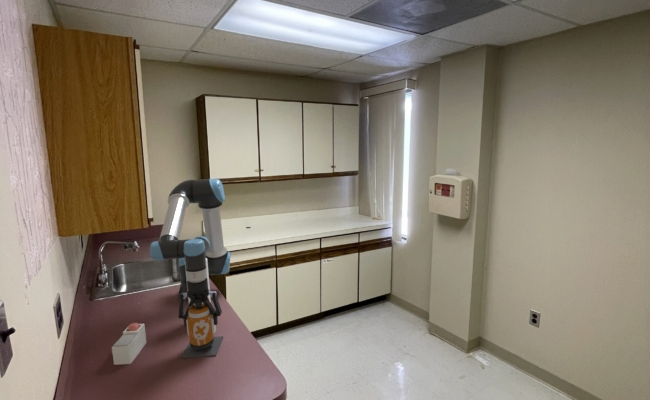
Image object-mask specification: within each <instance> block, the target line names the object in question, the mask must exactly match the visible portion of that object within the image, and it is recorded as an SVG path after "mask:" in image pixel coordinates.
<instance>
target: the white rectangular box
mask: <svg viewBox="0 0 650 400" xmlns="http://www.w3.org/2000/svg"><path fill="white" fill-rule="evenodd" d="M138 324H139V329H138V330H137V331H129V328H128V326H127V327H126V329H124V331H122V335H121V337H120V338H118V340H117V341H116V342H114V344H113V346H112V347H111V353H112V358H113V366H116V365H117V366H118V365H132V363H133V361H134V360H135V359H136V358H137V357H138V355H139V354H140V353H141V352H142V349H143V348H144V347H145V345H146V344H147V336H146V335H147V334H146V327H145V326H146V324H145V323H138Z"/></svg>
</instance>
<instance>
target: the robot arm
mask: <svg viewBox="0 0 650 400" xmlns="http://www.w3.org/2000/svg"><path fill="white" fill-rule="evenodd" d="M225 199H226V196H225V189H224V185H223V182H222V181H221V180H220V179H219V178H207V179H206V178H205V179H204V178H202V179H186V180H185V181H182V182H180V183H178V184H177V185H175V187H174V188H173V189H172V190H171V191H170V193H169V195H168V197H167V204H168V206H167V211H166V215H165V217H164V221H163V225H162V227H161V232H160V236H159V239H158V240H156V241H152V242H151V243H150V246H149V256H150V258H151V259H152V260H154V261H166V260H176V259H178V268H179V269H178V270H179V278H180V284H179V288H178V292H177V294H178V295H177V297H178V299H180V301H179V302H180V303H179V308H178V309H179V310H178V316H177V318H178V319H183V326H184V327H185V328H186V331H187V333H186V334H187V336H189V330H188V320H187V316H188V315H189V314H188V310H189V307H190V308H191V306H192V305H193V304H194V303H195V299H201V300H202V302H203V304H204V305H205V306H206V307H208V309H209V312H210V313H211V315H212V318H211V322H212V334H213V335H214V334H215V333H216V331H217V328H216V327H217V325H218V322H219V321H218V317H221V316H222V313H223V310H222V308H221V305H220V302H219V299H218V296H217V295H218V291H217V290H213V291H211V290H210V291H209V289H208V280H207V269H206V258H207V262H208V274H209V276H213V275H214V276H215V275H225V274H228V273H229V272H230V267H231V251H228V248H226V247H225V246H224V235H223V228H222V219H221V218H222V217H221V206H223V203H224V202H225ZM190 204H198V208H199V209H201V212H202V218H203V228H204V234H205V236H202V235H200V236H199V235H198V236H197V237H194V238H190V239H189V238H187V239H180V237H181V232H182V228H183V223H184V218H185V216H186V209H187V208H188V207H189V205H190ZM185 266H186V269H185ZM186 277H187V279H186ZM187 280H188V281H187ZM187 288H188V290H187ZM208 295H210V298H211V300H212V302H211V303H210V301H209V298H208ZM188 297H189V298H190V299H191V301H190V303H189V302H188V306H187V307H186V301H188ZM185 307H186V310H185Z"/></svg>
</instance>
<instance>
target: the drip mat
mask: <svg viewBox="0 0 650 400" xmlns="http://www.w3.org/2000/svg"><path fill="white" fill-rule="evenodd" d="M213 337H214V342H213V344H212V345H211V346H209V347H207V348H204V349H199V350H197V349H192V348H191V347H190V341H189V342H188V344H187V345H186V347H185V349H184V350H183V353H182V355H181V356H180V359H188V358H189V359H190V358H191V359H193V358H194V359H195V358H207V357H208V358H210V357H217V355H218V352H219V349H220V347H221V344H222V343H223V342H222V341H223V340H224V336H223V335H222V336H221V335H220V336H213Z"/></svg>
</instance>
